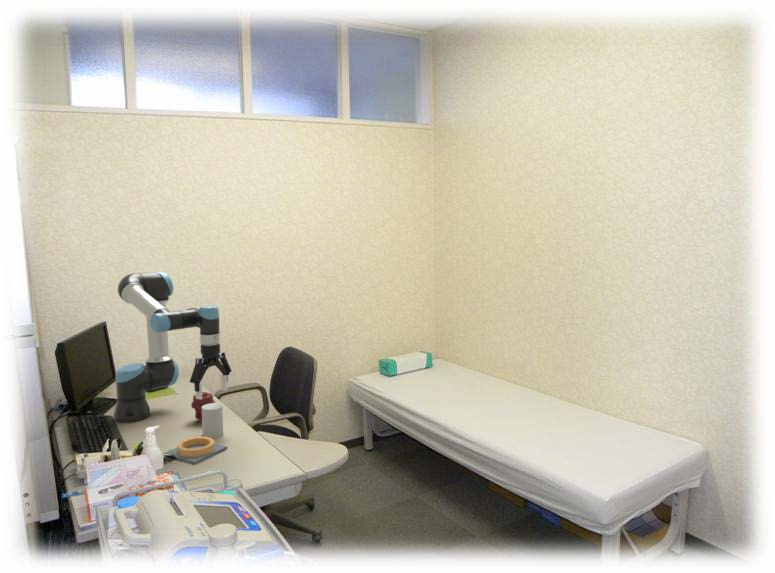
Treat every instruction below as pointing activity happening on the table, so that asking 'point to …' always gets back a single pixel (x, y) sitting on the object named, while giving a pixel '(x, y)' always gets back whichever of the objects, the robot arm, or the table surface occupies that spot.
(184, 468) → the table surface
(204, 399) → the mechanical component
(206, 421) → the grey cylinder
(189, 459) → the socket board
